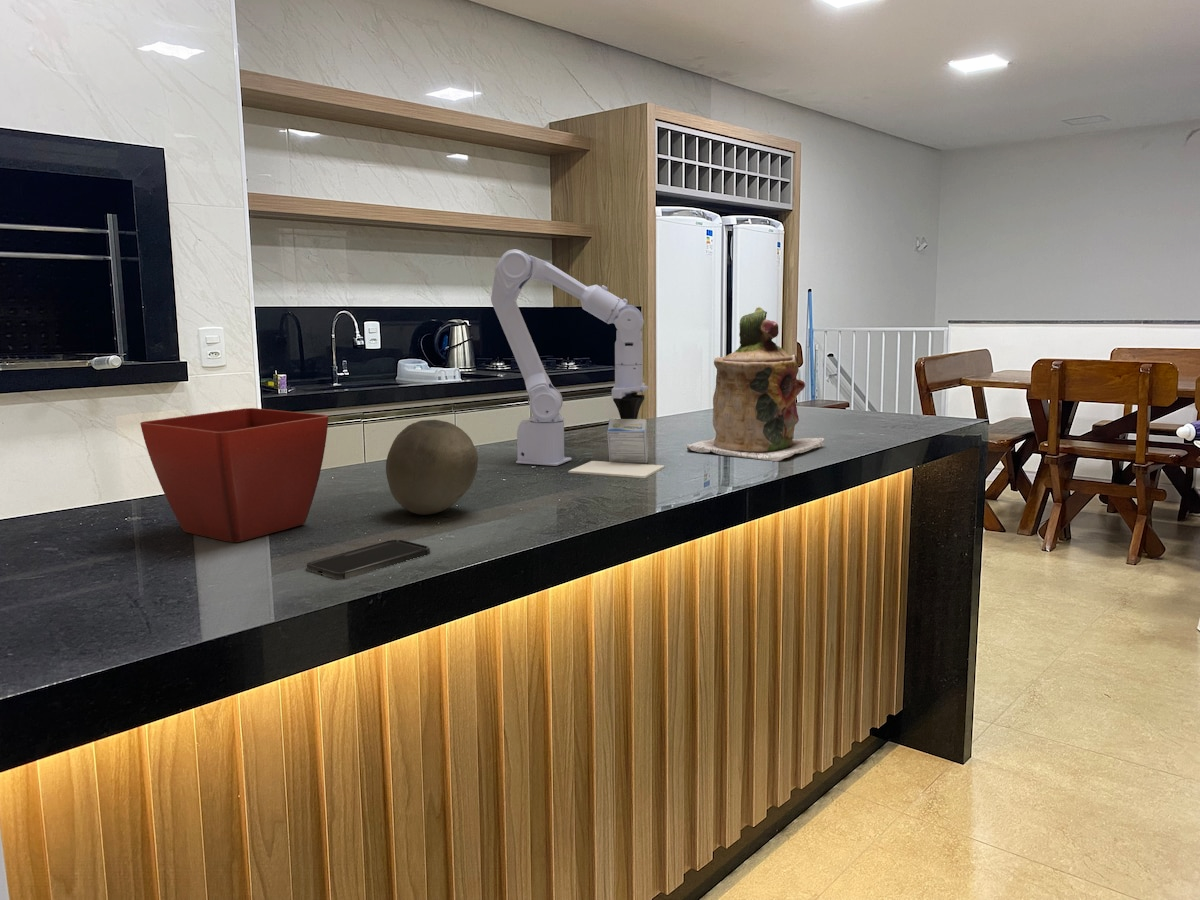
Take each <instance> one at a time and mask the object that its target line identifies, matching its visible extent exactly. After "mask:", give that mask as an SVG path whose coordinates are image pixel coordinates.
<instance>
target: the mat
mask: <svg viewBox="0 0 1200 900" xmlns="http://www.w3.org/2000/svg"><path fill="white" fill-rule="evenodd" d="M664 468H666V466H665V465H660V464H647V463H618V462H610V461H602V460H601V461H600V460H599V461H598V460H590V461H588V462H586V463H583V464H581V465H579V466H576V467H574V468H572V469H570V470H568V471H567V473H568V474H579V475H581V474H582V475H595V476H606V477H607V476H608V477H623V478H634V479H636V478H637V479H646V478H649V477H650V476H652V475H653V474H655V473H658V472H659V471H661V470H663V469H664Z"/></svg>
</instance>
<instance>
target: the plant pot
mask: <svg viewBox="0 0 1200 900" xmlns="http://www.w3.org/2000/svg"><path fill="white" fill-rule="evenodd" d="M140 427H141V432H142V436H143V440H144V444H145V446H146V450H147V453H148V456H149V459H150V461H151V464H152V466H153V467H152V468H153V469H154V471H155V475H156V477H157V479H158V483H159V484H160V487H161V489H162V491H163V493H164V495H165V498H166V500H167V502H168V505H170V508H171V510H172V511H173V514H174V516H175V518H176V519H177V522H178V523H179V525H180V526H181V528H182V531H183V532H185V533H188V534H192V535H197V536H202V537H206V538H209V539H216V540H219V541H224V542H230V543H241V542H245V541H249V540H252V539H256V538H260V537H262V536H266V535H270V534H273V533H277V532H281V531H285V530H289V529H292V528H295V527H299V526H303V525H305V524H306V521H307V519H308V515H309V513H310V510H311V507H312V504H313V500H314V497H315V494H316V491H317V486H318V483H319V481H320V475H321V472H322V471H321V469H322V465H323V460H324V456H325V448H326V444H327V443H326V442H327V434H328V427H329V415H327V414H320V413H319V414H317V413H307V412H299V411H288V410H287V411H286V410H277V409H267V408H266V409H265V408H258V407H256V408H255V407H249V408H248V407H245V408H241V409H239V408H238V409H231V410H223V411H216V412H215V411H214V412H207V413H200V414H192V415H184V416H183V415H182V416H177V417H169V418H168V417H167V418H162V419H155V420H154V419H153V420H147V421H146V420H145V421H141V422H140Z"/></svg>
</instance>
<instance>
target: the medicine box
mask: <svg viewBox="0 0 1200 900" xmlns="http://www.w3.org/2000/svg"><path fill="white" fill-rule="evenodd" d="M606 433H607V444H608V455H609V462H618V463H633V464H647V463H648V459H649V458H648V457H649V439H648V438H649V435H648V421H647V419H644V418H637V419H621V418H609V420H608V425H607V430H606Z"/></svg>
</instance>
